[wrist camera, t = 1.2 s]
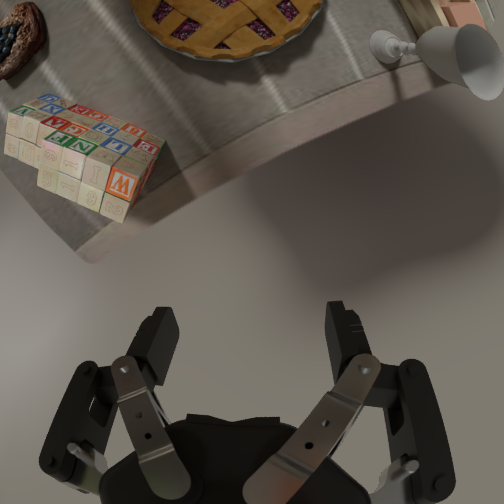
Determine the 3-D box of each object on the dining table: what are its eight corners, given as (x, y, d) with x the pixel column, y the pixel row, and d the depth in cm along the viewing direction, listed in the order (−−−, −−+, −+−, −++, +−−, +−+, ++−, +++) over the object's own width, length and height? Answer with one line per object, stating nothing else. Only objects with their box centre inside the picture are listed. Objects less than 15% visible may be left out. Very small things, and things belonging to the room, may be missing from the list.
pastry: (54, 39, 20) (29, 42, 15) (7, 86, 22) (-16, 96, 17) (38, -6, 13) (14, -7, 8) (-8, 43, 15) (-31, 49, 10)
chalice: (355, 54, 25) (445, 67, 12) (370, 15, 21) (464, 7, 8) (399, 78, 27) (493, 114, 13) (413, 41, 23) (511, 60, 9)
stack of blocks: (39, 129, 28) (-11, 163, 19) (48, 92, 25) (-8, 117, 16) (151, 176, 36) (122, 226, 27) (167, 139, 33) (139, 179, 24)
